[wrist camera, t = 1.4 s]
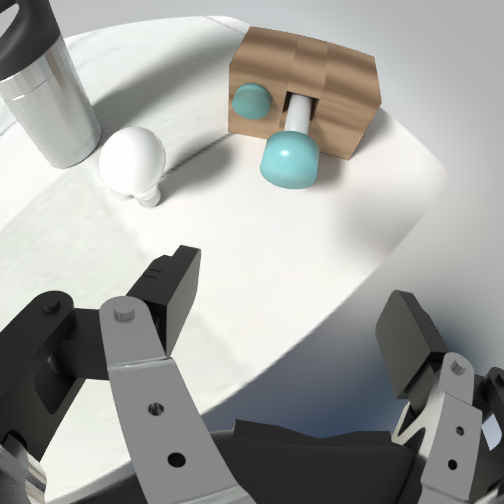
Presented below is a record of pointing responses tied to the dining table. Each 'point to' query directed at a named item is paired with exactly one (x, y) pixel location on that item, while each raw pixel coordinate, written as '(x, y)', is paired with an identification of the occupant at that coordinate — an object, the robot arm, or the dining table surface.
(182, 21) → the dining table surface
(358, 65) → the mount
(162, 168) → the lightbulb
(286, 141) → the knob
